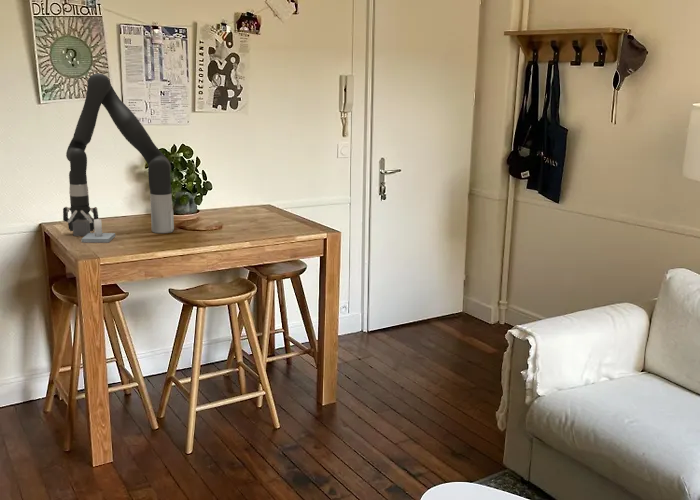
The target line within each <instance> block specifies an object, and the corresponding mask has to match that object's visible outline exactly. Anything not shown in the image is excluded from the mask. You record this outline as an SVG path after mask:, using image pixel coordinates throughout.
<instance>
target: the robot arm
mask: <svg viewBox="0 0 700 500" xmlns="http://www.w3.org/2000/svg"><path fill="white" fill-rule="evenodd" d="M86 83H87V84H86V85H87V86H86V87H87V90H86V95H85V101H84V104H83V107H82V110H81V112H80V115H79V118H78V120H77V123H76V126H75V130H74V132H73V136H72V138H71V140H70V142H69V144H68V147H67V150H66V153H65V154H66V155H65V156H66V159H67V161H69V164H70V165H69V166H70V171H69V173H68V182H69V200H70V201H69V202H70V207H68V206H64V207H63V208H62V214H63V215H62V221H63V222H66V223H68V230H69V231H70V232H73V223H72V220H73V219H74V218H75V217H76V218H79V217H81V218H84V217H86V219H87V220H89V222H90V232H94V219H99V211H98V208H97V207H96V206H94V207H91V206H90V196H89V187H88V177H87V168H88V155H87V152H86V151H85V150H86V148H87V145H88V144H90V142H91V140H92V137H93V134H94V131H95V128H96V124H97V120H98V115H99V112H100V108H101V106H103V107H104V108H105V110H106V111H107V113H108V114H109V117H110V118H111V120H112V122H113V123H114V125H115V126H116V128H117V130H119V132H120V134H121V135H122V136H123V137H124V139H125V140H126V141H127V142H128V143H129V144H130V145H131V146H132V147H133V148H134V149H136V150H137V151H138V152H139V154H141V156H142V157H143V159H144V160H145V162H146V164H147V165H148V168H147V171H148V172H147V173H148V176H147V177H148V188H149V194H150V195H149V198H150V216H151V217H150V219H151V220H150V221H151V232H153V233H155V234H168V233H173V231H174V230H175V223H174V222H175V220H174V219H175V218H174V209H173V198H172V195H173V194H172V184H171V171H172V165H171V162H170V160H169V159H168V158H167V157H166V156H165V155H164V153H162V151H161V150H160V149H159V148H158V147H157V146H156V145H155V142H153V139H152V138H151V137H150V135H149V133H148V132H147V131H146V129H145V127H144V126H143V124H142V123H141V122H140V120H139V119H138V118H137V116H136V115H135V114H134V113H133V111H132V110H131V109H130V108H129V107H128V106H127V105H126V104H125V103H124V102H123V101H122V100H121V98H120V97H119V96H118V94H117V93H116V90H114V87H113V86H112V84H111V81H110V79H109V78H108V76H107V75H105V74H103V73H99V72H98V73H93V74H92V75H90V76H89V78H87V82H86ZM69 212H70V213H71V212H72V215H70V217H69ZM90 212H91V213H92V214H93V216H92V215H91V213H90Z"/></svg>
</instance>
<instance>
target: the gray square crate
mask: <svg viewBox="0 0 700 500" xmlns="http://www.w3.org/2000/svg"><path fill="white" fill-rule="evenodd" d="M72 223H73V231H72V233H73V234H72V235H73V237H84V236H86V235H87V234H88V233H91V231H90V222H89V220H88V219H87V220H75V221H74V222H72Z"/></svg>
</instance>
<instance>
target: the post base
mask: <svg viewBox="0 0 700 500" xmlns="http://www.w3.org/2000/svg"><path fill="white" fill-rule="evenodd" d="M93 219H94V218H93ZM102 226H103V225H102V219H101V218H98V219H94V230H93V232H90V233H88V234H87V235H86V236H82V238H81V241H80V242H81V243H96V244H97V243H98V244H99V243H103V244H105V243H110V242H111V241H112V240H113V239H114V238H115V237H116V233H115V232H103V227H102Z"/></svg>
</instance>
